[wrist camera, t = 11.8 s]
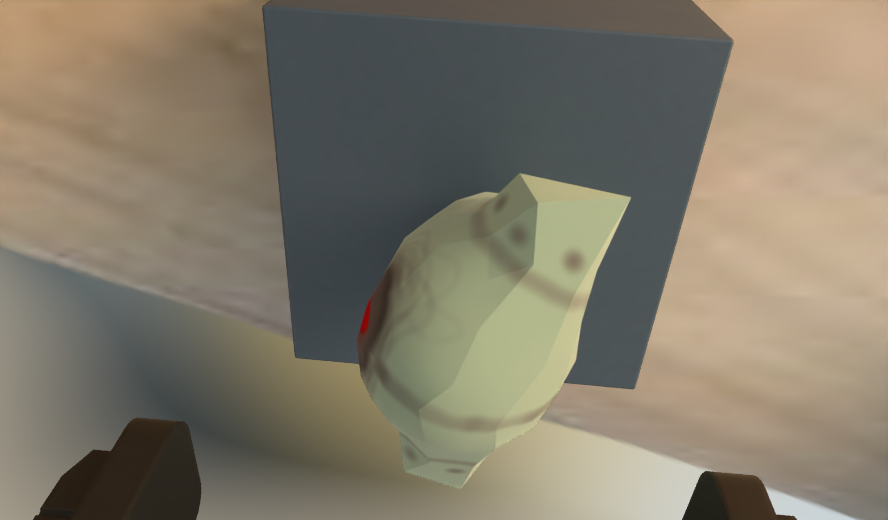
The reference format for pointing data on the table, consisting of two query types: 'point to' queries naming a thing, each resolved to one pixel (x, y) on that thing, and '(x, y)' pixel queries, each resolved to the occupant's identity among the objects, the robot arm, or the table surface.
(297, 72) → the square block
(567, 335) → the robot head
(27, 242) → the table surface
